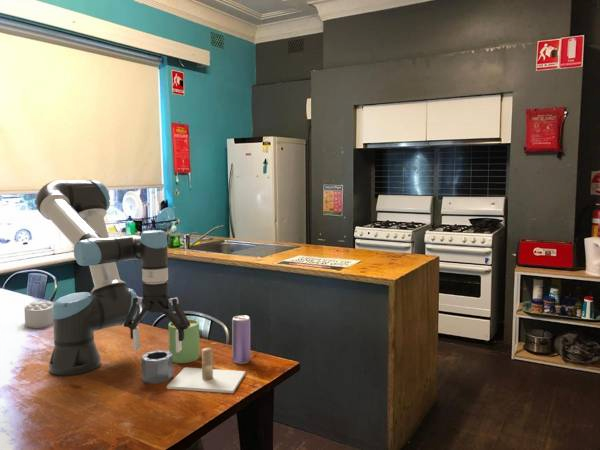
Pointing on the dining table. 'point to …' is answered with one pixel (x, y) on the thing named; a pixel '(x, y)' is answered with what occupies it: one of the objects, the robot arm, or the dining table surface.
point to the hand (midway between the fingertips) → (157, 350)
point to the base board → (220, 383)
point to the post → (207, 364)
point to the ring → (157, 366)
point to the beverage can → (241, 339)
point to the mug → (185, 343)
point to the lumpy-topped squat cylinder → (38, 314)
